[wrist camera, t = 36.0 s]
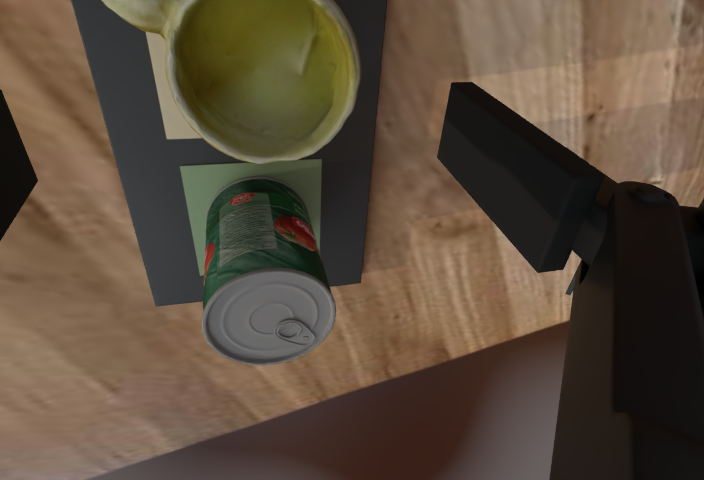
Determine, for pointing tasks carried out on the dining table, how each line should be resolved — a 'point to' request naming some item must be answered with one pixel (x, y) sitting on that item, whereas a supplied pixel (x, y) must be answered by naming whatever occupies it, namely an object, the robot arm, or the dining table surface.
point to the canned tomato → (263, 275)
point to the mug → (256, 71)
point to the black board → (221, 154)
